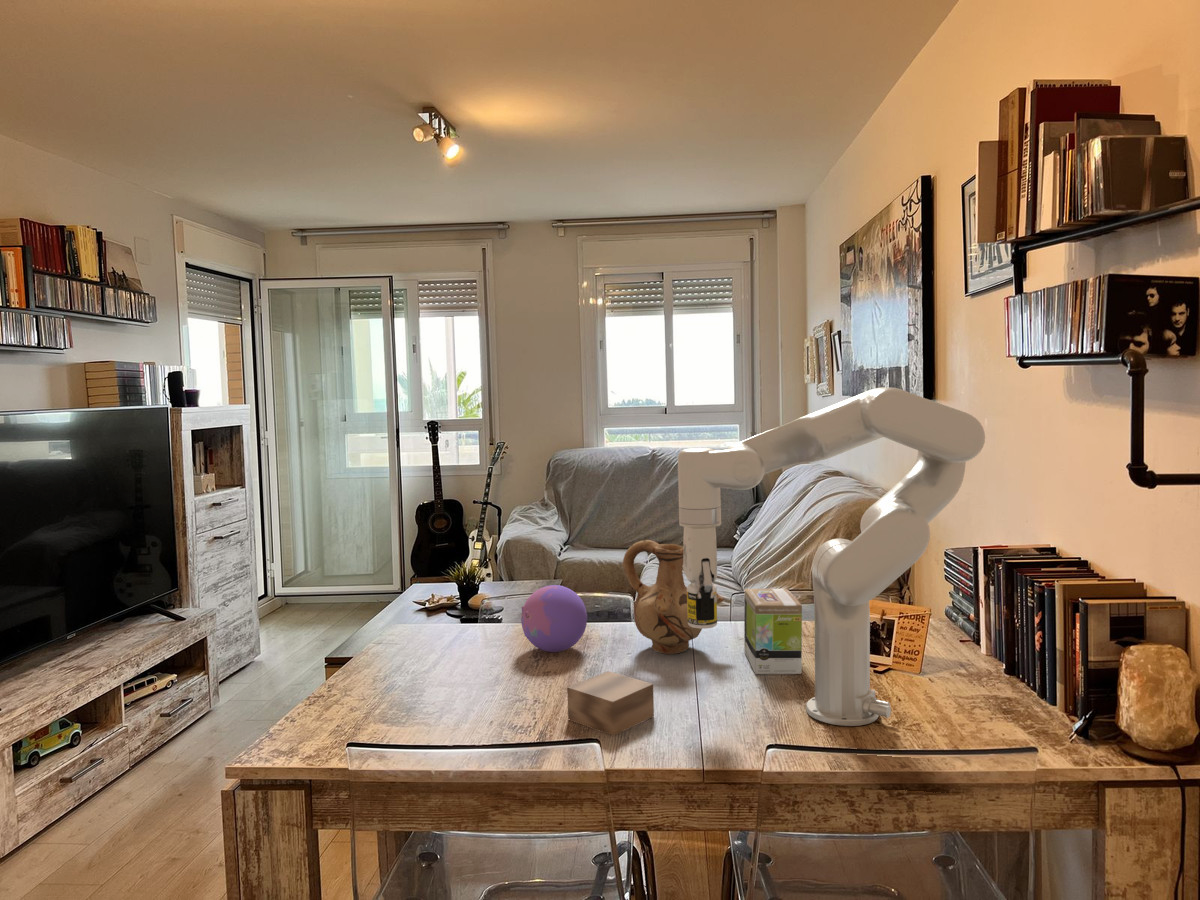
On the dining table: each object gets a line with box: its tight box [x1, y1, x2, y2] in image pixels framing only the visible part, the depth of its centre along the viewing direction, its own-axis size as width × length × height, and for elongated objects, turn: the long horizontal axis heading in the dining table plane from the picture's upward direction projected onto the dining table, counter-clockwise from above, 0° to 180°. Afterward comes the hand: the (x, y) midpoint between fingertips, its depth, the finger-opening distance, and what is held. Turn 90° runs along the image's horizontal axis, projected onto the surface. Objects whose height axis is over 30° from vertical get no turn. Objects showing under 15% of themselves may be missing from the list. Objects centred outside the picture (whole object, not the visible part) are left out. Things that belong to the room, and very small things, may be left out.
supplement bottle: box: [686, 578, 718, 630], centre depth 152 cm, size 5×5×10 cm
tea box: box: [743, 588, 803, 675], centre depth 178 cm, size 15×10×15 cm
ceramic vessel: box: [622, 539, 725, 655], centre depth 189 cm, size 18×19×25 cm
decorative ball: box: [520, 584, 588, 653], centre depth 190 cm, size 15×15×15 cm
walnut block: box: [566, 671, 655, 736], centre depth 151 cm, size 11×11×6 cm
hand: (702, 614), depth 152 cm, fingers closed on supplement bottle, 5 cm apart
